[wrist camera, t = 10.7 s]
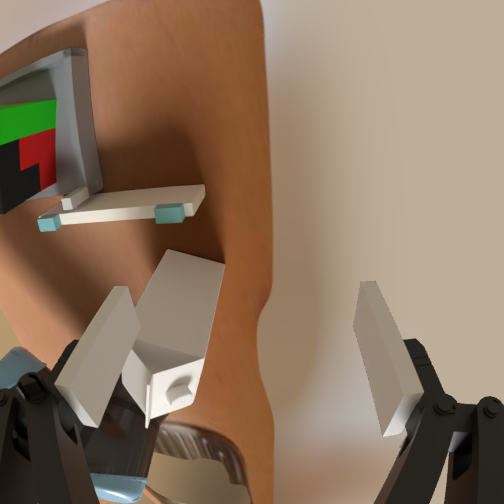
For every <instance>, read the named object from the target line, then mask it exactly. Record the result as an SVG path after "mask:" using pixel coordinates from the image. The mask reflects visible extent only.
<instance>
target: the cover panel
mask: <svg viewBox="0 0 504 504" xmlns="http://www.w3.org/2000/svg"><path fill="white" fill-rule="evenodd" d="M204 197H205V185H204V184H201V185H186V186H173V187H160V188H149V189H138V190H128V191H119V192H109V193H101V194H93V195H92V196H91V197H89V198H88V199H86V200H85V201H84V202H82V203H81V204H79V205H78V206H77V207H75V208H74V209H71V210H64V209H63V205H62V201H60V202H59V203H58V204H56V205H55V206H53V207H52V208H50V209H49V210H47V211H46V212H44V213H43V214H42V215H40V216H39V219H37V222H38V225H39V229H40V232H44V231H56V230H57V229H59V228H60V227H61V226H62V225H66V224H77V223H90V222H103V221H116V220H131V219H147V218H155V219H156V224H164V223H182V222H183V220H184V219H185V216H194V214H195V213H196V211H197V209H198V207H199V206H200V204H201V202H202V200H203V199H204Z"/></svg>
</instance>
